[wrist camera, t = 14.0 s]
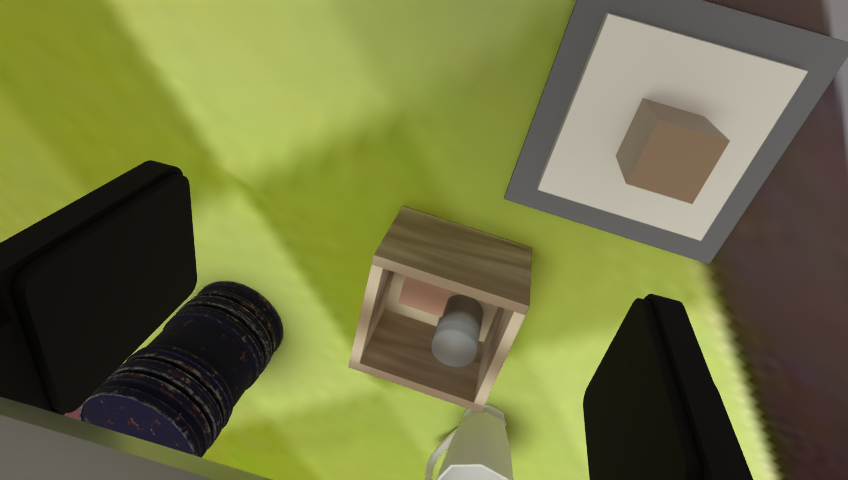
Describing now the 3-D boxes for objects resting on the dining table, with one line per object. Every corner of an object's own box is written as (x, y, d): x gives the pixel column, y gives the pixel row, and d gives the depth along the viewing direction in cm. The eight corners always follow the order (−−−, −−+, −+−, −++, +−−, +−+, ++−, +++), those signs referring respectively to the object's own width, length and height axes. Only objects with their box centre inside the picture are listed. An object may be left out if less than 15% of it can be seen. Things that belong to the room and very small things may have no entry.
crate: (402, 205, 41) (373, 255, 34) (532, 247, 40) (529, 306, 33) (377, 307, 46) (348, 367, 39) (490, 345, 46) (480, 412, 39)
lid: (606, 12, 31) (619, 22, 25) (799, 67, 30) (853, 90, 25) (537, 183, 37) (536, 220, 32) (696, 232, 36) (722, 279, 31)
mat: (588, -33, 30) (589, -33, 30) (852, 43, 29) (856, 44, 29) (504, 196, 38) (503, 198, 38) (707, 261, 37) (709, 264, 37)
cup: (534, 429, 50) (532, 505, 43) (455, 458, 54) (442, 530, 47) (492, 383, 48) (483, 453, 41) (415, 416, 52) (395, 485, 45)
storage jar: (263, 276, 47) (160, 392, 35) (297, 356, 52) (216, 485, 39) (179, 284, 50) (54, 393, 37) (217, 359, 55) (117, 480, 42)
